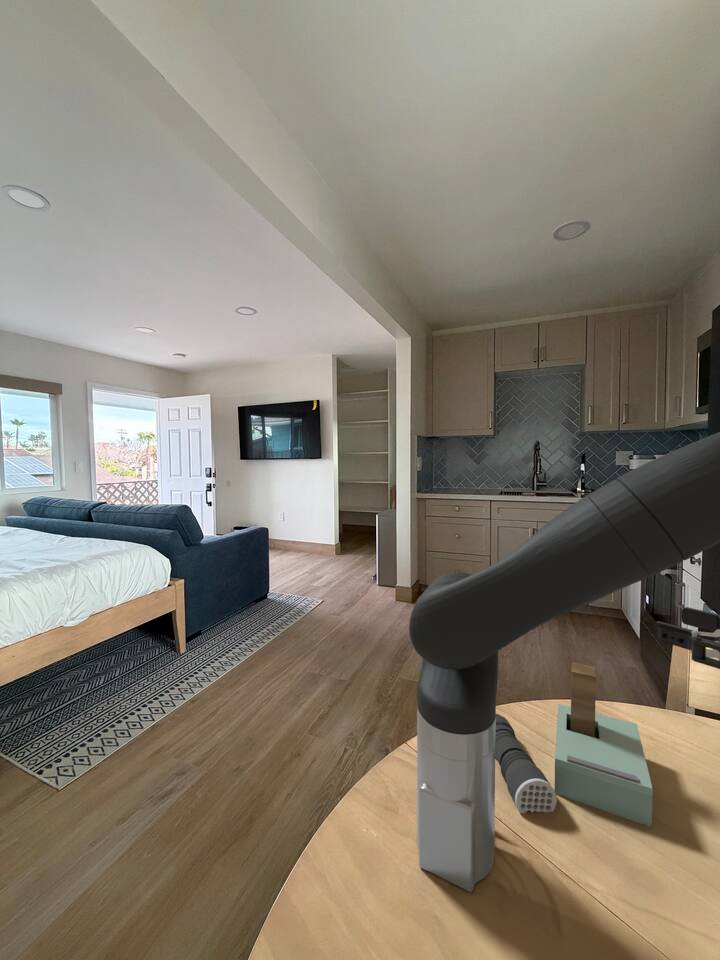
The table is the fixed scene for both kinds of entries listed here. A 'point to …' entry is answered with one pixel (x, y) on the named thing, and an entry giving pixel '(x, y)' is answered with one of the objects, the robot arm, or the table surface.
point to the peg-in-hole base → (604, 767)
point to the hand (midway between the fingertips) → (668, 621)
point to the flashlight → (521, 772)
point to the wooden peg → (583, 699)
